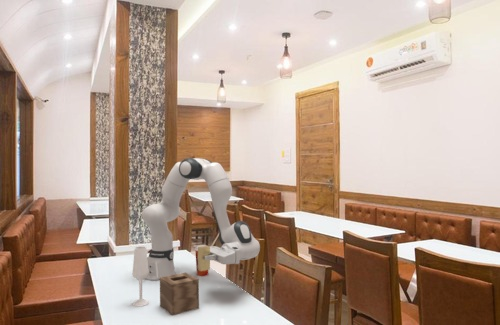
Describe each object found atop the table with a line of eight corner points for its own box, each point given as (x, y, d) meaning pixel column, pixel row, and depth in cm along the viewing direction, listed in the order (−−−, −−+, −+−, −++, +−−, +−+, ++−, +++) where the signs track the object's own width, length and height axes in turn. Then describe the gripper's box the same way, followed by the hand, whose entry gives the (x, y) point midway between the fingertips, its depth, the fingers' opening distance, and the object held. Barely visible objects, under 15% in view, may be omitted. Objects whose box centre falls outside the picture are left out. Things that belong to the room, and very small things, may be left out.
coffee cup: (195, 277, 198) (195, 248, 198) (194, 272, 206) (193, 245, 206) (211, 275, 200) (211, 247, 200) (209, 271, 208) (208, 244, 208)
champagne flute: (142, 299, 167) (142, 245, 167) (152, 302, 162) (151, 247, 162) (129, 303, 161) (129, 247, 161) (138, 307, 157) (138, 250, 157)
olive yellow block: (207, 268, 167) (207, 245, 167) (209, 269, 165) (209, 246, 165) (198, 269, 164) (197, 247, 164) (200, 271, 162) (200, 248, 162)
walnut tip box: (185, 299, 166) (185, 272, 166) (198, 308, 156) (198, 279, 156) (160, 305, 158) (159, 277, 159) (171, 315, 149) (171, 284, 149)
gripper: (217, 241, 180) (191, 245, 172) (241, 250, 164) (213, 254, 156) (217, 255, 180) (191, 259, 172) (241, 264, 164) (213, 270, 156)
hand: (202, 257), depth 164 cm, fingers closed on olive yellow block, 2 cm apart
